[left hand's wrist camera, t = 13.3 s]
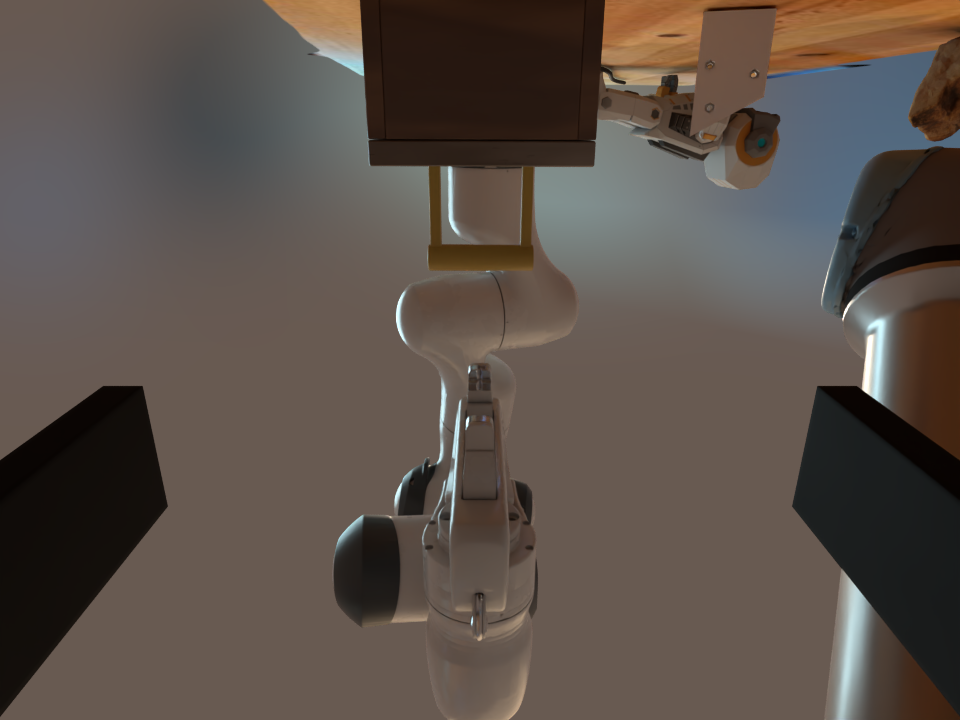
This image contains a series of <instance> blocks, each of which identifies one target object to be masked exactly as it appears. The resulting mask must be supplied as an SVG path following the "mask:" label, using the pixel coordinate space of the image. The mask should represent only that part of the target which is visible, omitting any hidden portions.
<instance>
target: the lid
mask: <svg viewBox="0 0 960 720" xmlns="http://www.w3.org/2000/svg"><path fill="white" fill-rule="evenodd" d="M595 144H596V143H595V141H591V140H489V139H373V140H369V141H368V152H369V165H370V166H428V168H429V210H430V245H429V246H428V269H429V270H442V271H445V270H446V271H532V270H533V265H534V247H533V245H531V240H532V209H533V178H534V167H593V166H594V159H595ZM440 166H486V167H522V185H521V223H520V245H457V244H456V245H454V244H442V233H441V177H440Z"/></svg>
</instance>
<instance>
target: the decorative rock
mask: <svg viewBox="0 0 960 720" xmlns="http://www.w3.org/2000/svg"><path fill="white" fill-rule="evenodd" d="M908 118H909V121H910V122H911V124H912V126H913V127H918V129H919V130H920V131H922V132H923V133H924V134H925V137H926V139H927V140H930V141H941V140H944V139H946V138H948V137H950V136H952V135H953V134H954V133H955V132H957V131H958V130H959V129H960V37H957V38H955V39H952V40H950V41H948V42H947V43H945V44H942V45H940V46H939V48H938V50H937V52H936V54H935V57H934V59H933V62H932V65H931V67H930V68H929V71H928V73H927V75H926V77H925V78H924V79H923V81H922V83H921V84H920V86H919V87H918V89H917V91H916V93H915V96H914V100H913V103H912V105H911V108H910V112H909V116H908Z"/></svg>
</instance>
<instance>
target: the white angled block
mask: <svg viewBox="0 0 960 720" xmlns="http://www.w3.org/2000/svg"><path fill="white" fill-rule="evenodd" d="M776 12H777V8H775V9H754V10H732V11H710V12H704V15H703V24H702V32H701V41H700V50H699V59H698V68H697V76H696V85H695V94H694V103H693V112H692V120H691V129H690V136H692V135H694V134H696V133H698V132H699V131H701V130H703V129H705V128H707V127H709V126H711V125H712V124H714V123H716V122H718V121H720V120H722V119H724V118H725V117H727V116H729V115H731V114H733V113H735V112H737V111H738V110H740V109H742V108H744V107H746V106H748V105H750V104H751V103H753V102H755V101H757V100H759V99H761V98H762V97H764V92H765V85H766V79H767V72H768V65H769V59H770V52H771V45H772V39H773V32H774V25H775V19H776ZM709 64H712V68H711V69H708V68H707V66H708V65H709ZM752 73H755V74H756V77H755V78H752V77H751V74H752ZM708 106H712V110H710V111H708V110H707V107H708Z"/></svg>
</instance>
